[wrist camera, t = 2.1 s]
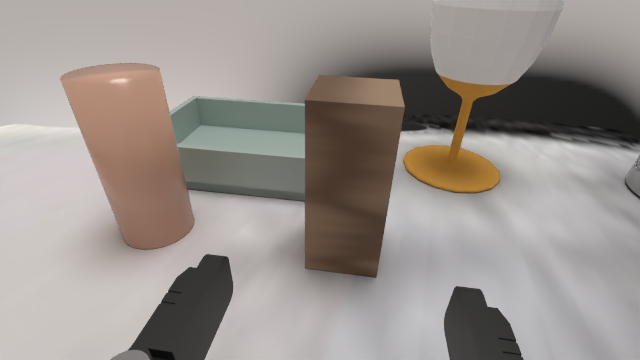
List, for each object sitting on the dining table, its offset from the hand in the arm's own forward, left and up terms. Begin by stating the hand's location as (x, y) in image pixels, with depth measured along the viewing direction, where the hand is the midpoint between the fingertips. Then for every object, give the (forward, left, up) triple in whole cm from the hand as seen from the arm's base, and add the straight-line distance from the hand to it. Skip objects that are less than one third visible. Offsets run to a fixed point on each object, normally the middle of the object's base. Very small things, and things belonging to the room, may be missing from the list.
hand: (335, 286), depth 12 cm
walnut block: (0, -9, -7) cm, 11 cm away
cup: (-9, -22, -7) cm, 25 cm away
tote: (+9, -20, -6) cm, 23 cm away
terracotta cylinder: (+14, -9, -7) cm, 17 cm away
